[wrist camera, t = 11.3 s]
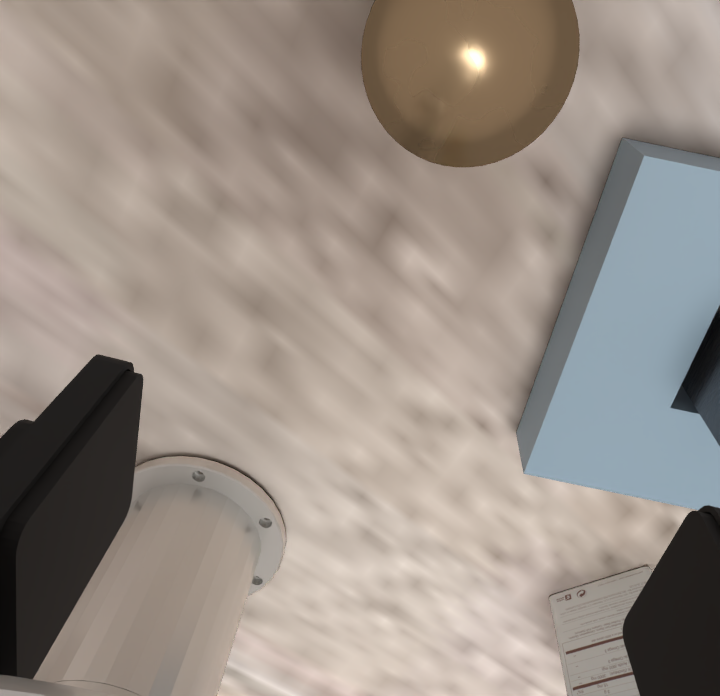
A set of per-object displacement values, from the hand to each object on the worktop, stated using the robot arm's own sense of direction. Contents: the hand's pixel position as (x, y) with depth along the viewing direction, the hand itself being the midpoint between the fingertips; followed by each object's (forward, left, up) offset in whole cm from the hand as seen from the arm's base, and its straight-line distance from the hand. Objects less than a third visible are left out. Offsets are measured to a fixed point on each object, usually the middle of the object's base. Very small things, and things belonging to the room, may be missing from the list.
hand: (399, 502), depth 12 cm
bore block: (-6, -18, -27) cm, 33 cm away
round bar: (+6, 0, -27) cm, 27 cm away
